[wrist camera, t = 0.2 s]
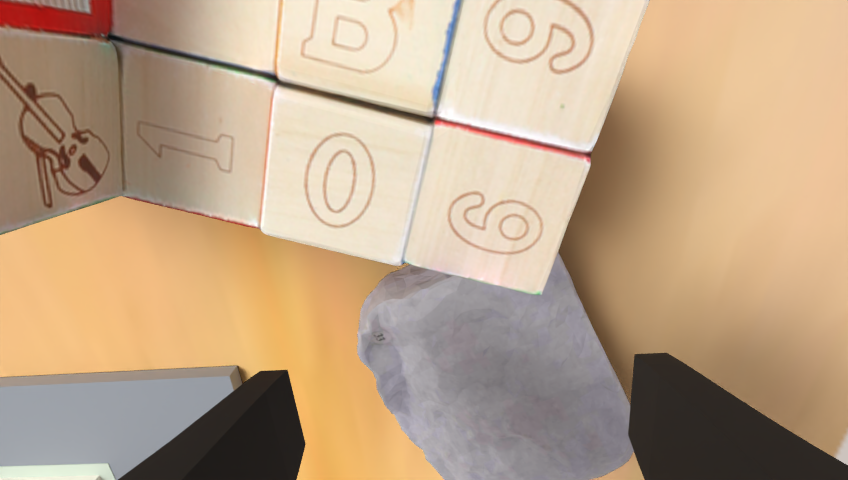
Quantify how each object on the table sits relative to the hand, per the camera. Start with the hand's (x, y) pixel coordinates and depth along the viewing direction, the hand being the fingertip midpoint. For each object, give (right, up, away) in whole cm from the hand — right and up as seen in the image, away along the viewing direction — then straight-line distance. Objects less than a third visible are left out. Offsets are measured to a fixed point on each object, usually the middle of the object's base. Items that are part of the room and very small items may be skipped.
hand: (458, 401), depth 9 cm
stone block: (+2, -2, +12) cm, 12 cm away
